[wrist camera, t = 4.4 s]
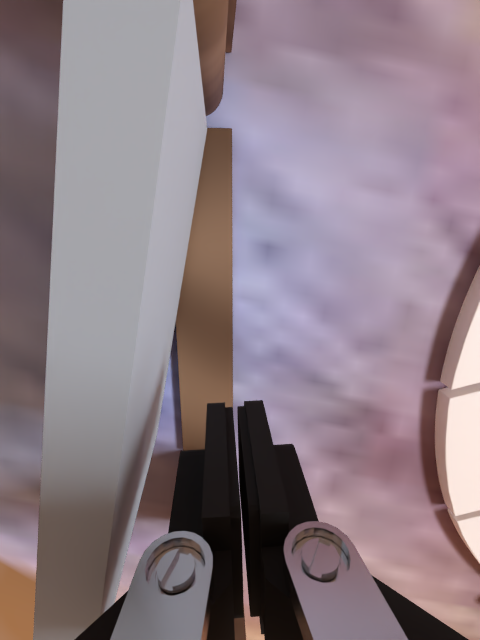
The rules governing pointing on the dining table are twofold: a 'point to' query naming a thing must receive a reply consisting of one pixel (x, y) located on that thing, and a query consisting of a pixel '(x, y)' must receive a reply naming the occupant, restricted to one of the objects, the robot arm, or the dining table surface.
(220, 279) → the doorframe
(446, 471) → the lazy susan
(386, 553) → the dining table surface
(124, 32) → the door
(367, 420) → the dining table surface
